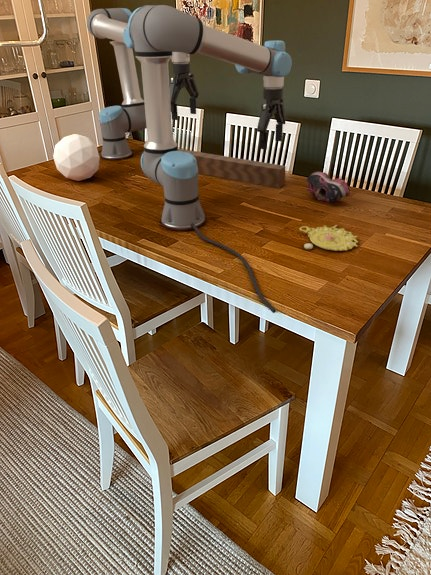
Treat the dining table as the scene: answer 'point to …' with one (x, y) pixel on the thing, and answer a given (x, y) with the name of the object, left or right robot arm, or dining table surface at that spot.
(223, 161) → the beam
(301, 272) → the dining table surface
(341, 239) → the decorative object
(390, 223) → the dining table surface
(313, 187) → the athletic shoe
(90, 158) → the sphere
